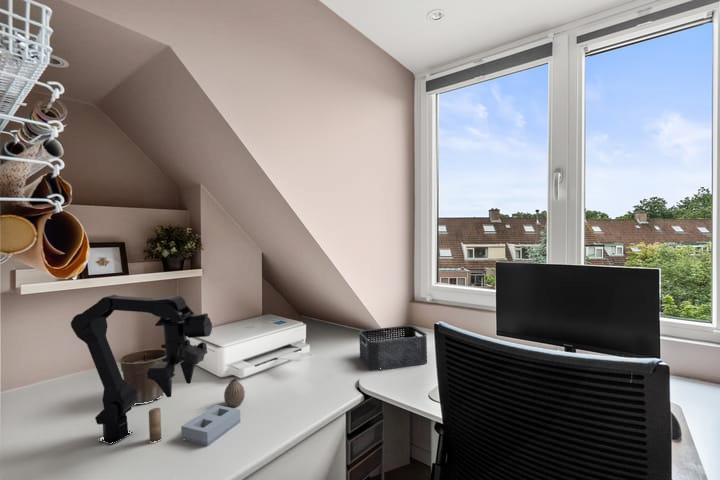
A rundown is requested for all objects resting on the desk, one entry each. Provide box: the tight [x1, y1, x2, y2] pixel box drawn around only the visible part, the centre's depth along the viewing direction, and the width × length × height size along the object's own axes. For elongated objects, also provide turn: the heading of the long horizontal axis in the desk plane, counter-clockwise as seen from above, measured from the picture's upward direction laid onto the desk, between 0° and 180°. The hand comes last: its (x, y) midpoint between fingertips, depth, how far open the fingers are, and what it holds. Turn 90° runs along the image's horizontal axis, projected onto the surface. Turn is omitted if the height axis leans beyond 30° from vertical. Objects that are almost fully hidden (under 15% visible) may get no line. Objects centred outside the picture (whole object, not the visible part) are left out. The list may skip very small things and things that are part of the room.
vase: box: [223, 378, 246, 408], centre depth 129 cm, size 7×7×9 cm
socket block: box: [180, 404, 241, 447], centre depth 112 cm, size 10×14×4 cm
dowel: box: [148, 407, 162, 442], centre depth 107 cm, size 3×3×9 cm
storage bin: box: [358, 325, 428, 371], centre depth 170 cm, size 29×19×13 cm
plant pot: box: [118, 348, 167, 403], centre depth 135 cm, size 16×16×16 cm
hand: (179, 389), depth 109 cm, fingers open, 9 cm apart
